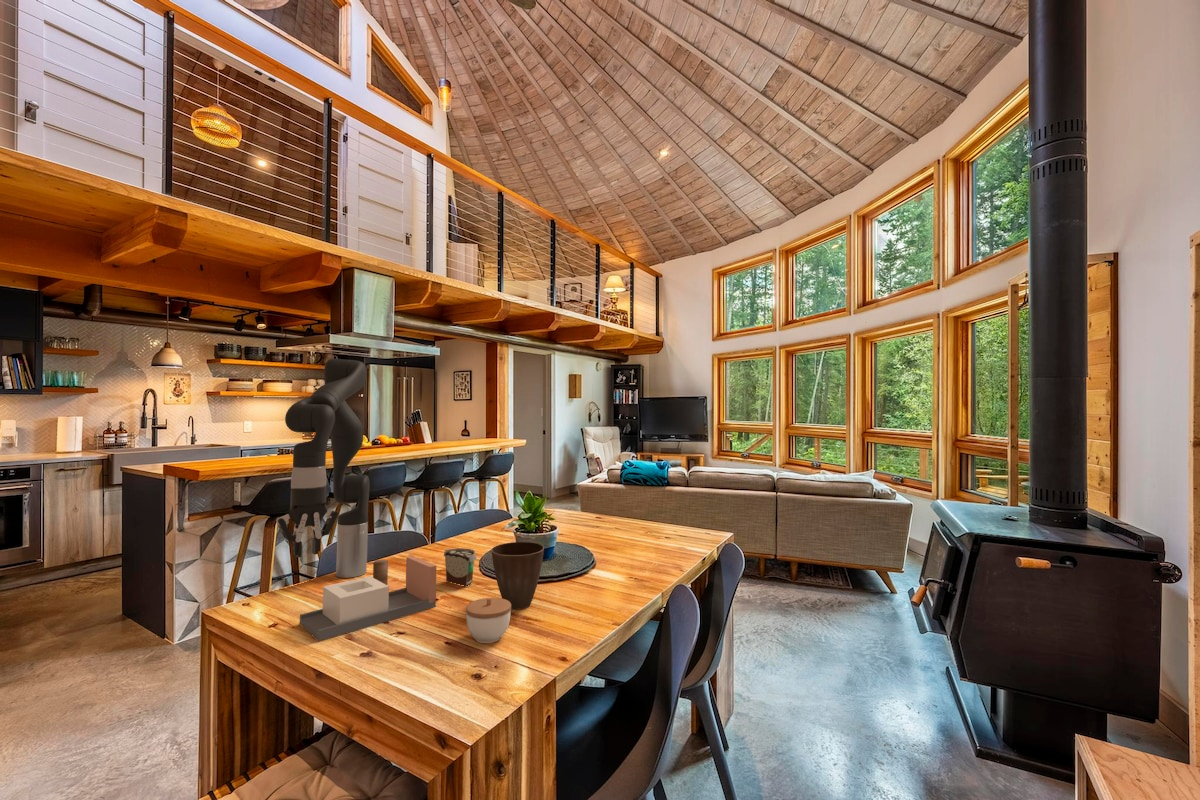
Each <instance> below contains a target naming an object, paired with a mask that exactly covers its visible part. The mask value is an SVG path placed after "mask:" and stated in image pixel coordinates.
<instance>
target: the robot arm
mask: <svg viewBox="0 0 1200 800" xmlns="http://www.w3.org/2000/svg"><path fill="white" fill-rule="evenodd" d="M323 373H324V374H323V375H324V376H323V377H324V384H323V385H321V386H320V387H318V388H316V390H315V391H313V393H312V394H311V395H310V396H308V397H305V398H303V399H300V400H298V401H296V402H295V403H293V404H292V405H291V406H290V407H289V408H288V409H287V411H286V414H285V417H284V422H285V425H286V427H287V429H289V430H290V431H292V432H295V433H315V434H314V437H312V438H313V439H311V440H309V441H308V440H307V441H302V442H299V443H296V444H295V445H294V447H293V451H292V470H291V471H292V472H291V476H290V477H291V478H290V505H289V506H290V507H289V509H288V511H287V513H286V514H285V515H282V516H278V517H276V518H275V523H276V524H277V526H278V528H279V530H280V532H281V534H282V537H283V538H284V539H285V540H286V541H288V542H292V553H293V555H294V556H295V557H296V558H302V555H303V554H302V553H303V551H302V549H303V548H302V547H303V542H302V537H303V533H304V531H305V528H307V527H310V528H311V531H312V536H313V538H312V541H311V542H312V543H311V553H312V555H315V556H316V555H318V554H319V552H321V548H322V547H321V546H322V545H321V544H322V538H323V537H325V536H328V535H329V534H330V533H331V531H332V529H333V527H334V524H335V522H336V520H337V527H336V528H337V531H336V534H337V535H336V565H335V567H336V568H335V570H336V571H335V576H336V577H338V578H346V579H348V578H357V577H360V576H363V575H365V574H367V568H368V567H367V563H368V535H369V534H368V532H369V531H368V530H369V529H368V528H369V526H368V523H369V500H370V487H371V486H370V485H371V483H370V478H369V476H368V475H367V474H352V475H350V474H345V472H346V470H347V467H348V466H349V465H350V463H351V461H352V460H353V459H354V458H355V456H356V455H357V454H358V452H359V451H360V449H361V447H362V446H363V442H364V440H363V439H364V437H363V435H364V434H363V424H362V421H361V420H360V419H359V417H358V415H357V414H356V413H355V412H354V410H353V409H352V408H351V407H350V405H348V403H347V401H346V400H347V399H349V398H350V397H351V396H353V395H355V393H358V392H359V391H360V390H362V389H363V387H364V386H365V384H366V381H367V375H368V373H367V367H366V364H365V363H364V362H363V361H360V360H355V359H345V358H344V359H341V358H329V359H328V360H327V361H326V362H325V364H324V369H323ZM329 438H330V444H331V454H332V463H333V464H332V467H333V470H332V471H333V476H332V477H333V482H332V484H333V485H332V486H333V487H332V490H333V497H334V500H335V502H336V503H340V504H348V503H350V504H351V503H353V504H354V503H357V506H355V507H354V508H352V509H351V510H347V511H345V512H342V513H340V514H339V512H337V511H335V510H330V509H328V507H327V505H326V502H327V500H326V498H327V497H326V496H327V483H328V481H327V480H328V479H327V470H326V465H327V464H326V463H327V460H326V459H327V456H326V455H327V447H328V444H329ZM324 517H325V518H326V520H325V521H324V524H323V526H322V527H321V521H322V520H323V518H324ZM289 519H290V520H291V521H292V523H294V526H293V534H292V533H291V531H290V529H289V527H288V524H289V523H290V522H289Z"/></svg>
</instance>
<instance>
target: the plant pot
mask: <svg viewBox="0 0 1200 800" xmlns="http://www.w3.org/2000/svg"><path fill="white" fill-rule="evenodd" d="M544 552H545V546H544V545H542V544H540V543H537V542H530V541H514V542H513V541H512V542H506V543H501V544H498V545H495V546H493V547H492V548H491V559H492V564H493V570H494V571H493V572H494V574H495V579H496V583H497V584H496V585H497V588H498V590H499V591H498V592H499V594H500V596H501V598H502V599H505V600H508V601H509V602H510V603H511V610H522V608H523V609H526V608H528V607H530V606H531V605H532V602H533V600H534V599H533V598H534V596H535V593H536V591H537V588H538V586H537V585H538V583H539V580H540V576H541V570H542V565H543V558H544Z"/></svg>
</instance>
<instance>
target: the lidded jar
mask: <svg viewBox="0 0 1200 800" xmlns="http://www.w3.org/2000/svg"><path fill="white" fill-rule="evenodd" d="M511 611H512V609H511V603H510V602H509V601H508V600H505V599H502V597H501V598H500V597H486V598H485V597H484V598H479V599H476V600H473V601H470V602H469V603H467V605H466V607H465V613H466V616H465V617H466V626H467V629H468V632H469V634H470V635H471V637H472V638H473V639H475V641H476V642H477V643H480V644H494V643H496V642H499V640H501V638H502V637H503V635H504V634H505V633H506V632H507V630H508V628H509V625H510V621H511Z"/></svg>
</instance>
